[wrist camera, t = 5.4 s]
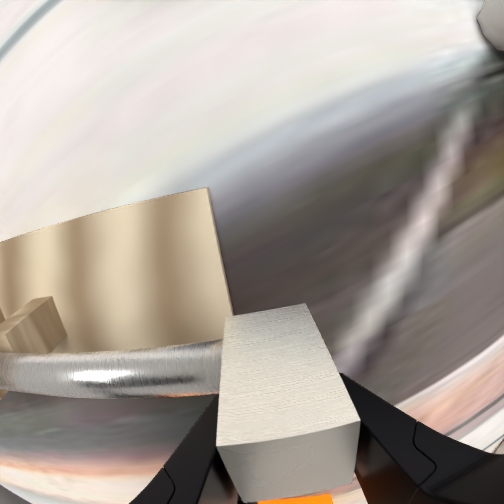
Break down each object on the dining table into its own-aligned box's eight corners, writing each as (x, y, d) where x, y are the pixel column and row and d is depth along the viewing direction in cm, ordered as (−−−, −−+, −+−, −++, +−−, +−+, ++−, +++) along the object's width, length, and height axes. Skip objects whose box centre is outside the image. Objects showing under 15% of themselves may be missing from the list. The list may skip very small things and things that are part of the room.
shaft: (305, 303, 11) (360, 420, 5) (311, 366, 12) (351, 483, 6) (-42, 337, 11) (-94, 383, 5) (-22, 377, 12) (-67, 427, 6)
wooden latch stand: (205, 169, 16) (138, 166, 5) (248, 376, 20) (256, 522, 9) (-62, 255, 16) (-137, 294, 5) (-14, 377, 20) (-66, 438, 9)
